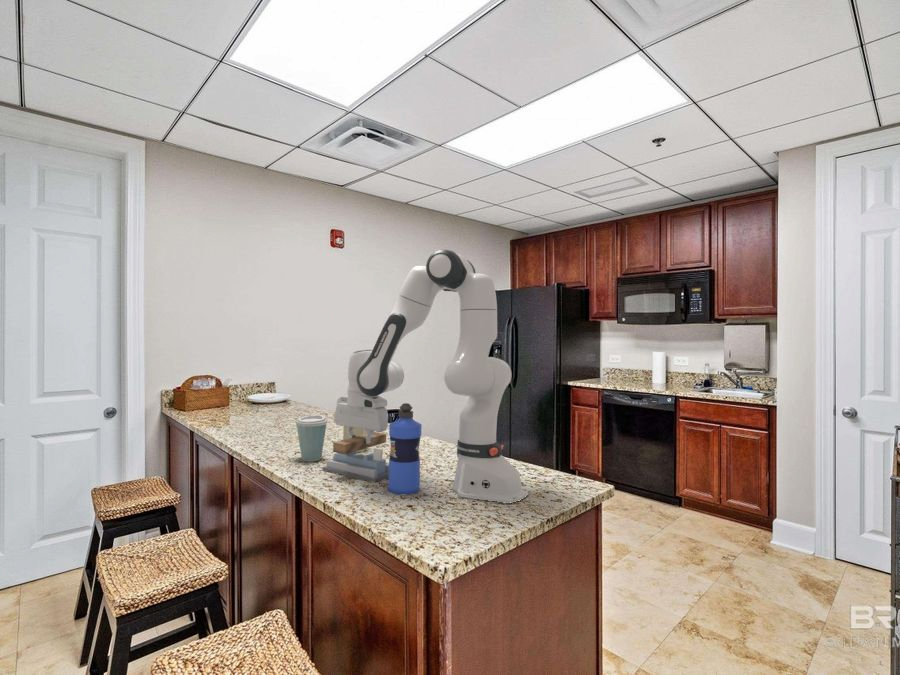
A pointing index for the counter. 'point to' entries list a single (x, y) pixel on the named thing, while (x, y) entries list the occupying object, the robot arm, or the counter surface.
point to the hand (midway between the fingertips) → (359, 441)
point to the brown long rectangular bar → (358, 443)
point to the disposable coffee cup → (311, 436)
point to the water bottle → (404, 453)
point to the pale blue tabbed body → (364, 460)
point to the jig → (356, 471)
